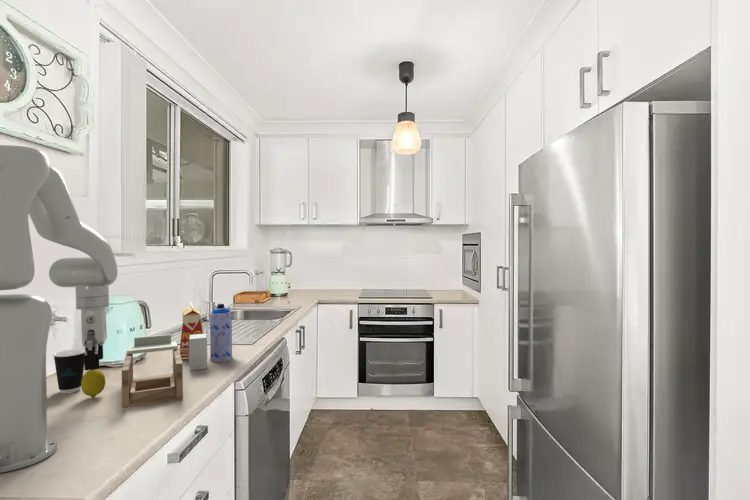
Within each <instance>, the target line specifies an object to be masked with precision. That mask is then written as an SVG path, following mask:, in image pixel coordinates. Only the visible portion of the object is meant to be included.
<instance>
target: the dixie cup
mask: <svg viewBox="0 0 750 500" xmlns="http://www.w3.org/2000/svg"><path fill="white" fill-rule="evenodd" d="M84 355H85V348H74V349H66V350H65V349H64V350H61V351H56V352H54V353H53V354H52V356H53V357H54V358H53V360H54V366H55V374H56V378H57V379H56V380H57V385H58V390H59V393H60V394H71V393H75V392H76V393H77V392H78V391H81V390H82V389H81V381H82V377H83V376H84V370H85V366H84Z"/></svg>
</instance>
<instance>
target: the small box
mask: <svg viewBox="0 0 750 500" xmlns="http://www.w3.org/2000/svg"><path fill="white" fill-rule="evenodd" d="M188 363H189V364H188V365H189V371H196V370H205V369H208V336H207V333H203V334H195V335H190V338H189V359H188Z"/></svg>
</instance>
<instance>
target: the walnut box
mask: <svg viewBox="0 0 750 500" xmlns="http://www.w3.org/2000/svg"><path fill="white" fill-rule="evenodd" d="M179 349H180V346H179V345H178V344H177V349H175V350H172V369H173V370H172V373H167V374H158V375H151V376H150V375H149V376H142V377H136V378H135V377H134V354H128V350H126V353H125V357H124V360H123V363H122V368H121V410H126V409H131V408H138V407H139V408H140V407H142V406H143V407H144V406H150V405H156V404H157V405H158V404H164V403H169V401H171V402H177V401H182V400H181V399H184V390H183V389H184V386H183V384H184V381H183V377H184V376H183V359H181V355H180V351H179ZM176 400H177V401H176Z"/></svg>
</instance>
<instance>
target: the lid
mask: <svg viewBox="0 0 750 500" xmlns="http://www.w3.org/2000/svg"><path fill="white" fill-rule="evenodd" d="M133 340H134V342H133V343H134V345H129V346H128V347H127V351H128V354H133V355H135V354H144V353H145V354H146V353H153V352H154V353H155V352H165V351H173V350H175V349H177V345H178V343H177V341H172V334H171V333H168V334H167V333H166V334H159V335H157V334H156V335H146V336H134V338H133Z"/></svg>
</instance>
